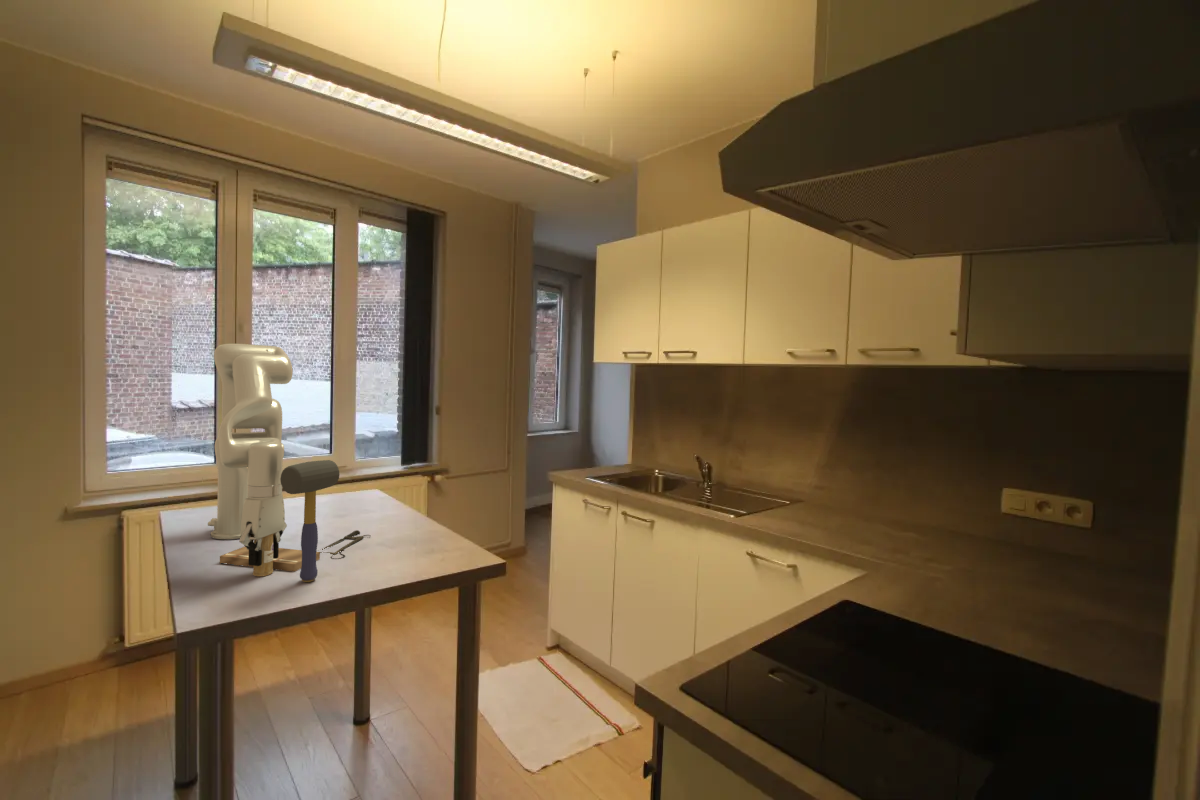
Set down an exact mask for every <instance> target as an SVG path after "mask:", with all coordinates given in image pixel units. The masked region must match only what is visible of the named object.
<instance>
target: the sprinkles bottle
mask: <svg viewBox="0 0 1200 800" xmlns="http://www.w3.org/2000/svg"><path fill="white" fill-rule="evenodd" d="M253 542H254V543H255V544H256V540H254V541H253ZM259 550H262V564H261V565H260V566H254V567H253V571H252V575H253V576H255V577H266V576H270V575H272V574H273V573H274V569H273V534H270V535H268V536H266V537H263V538H262V541H261V546H260V549H259Z"/></svg>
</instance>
